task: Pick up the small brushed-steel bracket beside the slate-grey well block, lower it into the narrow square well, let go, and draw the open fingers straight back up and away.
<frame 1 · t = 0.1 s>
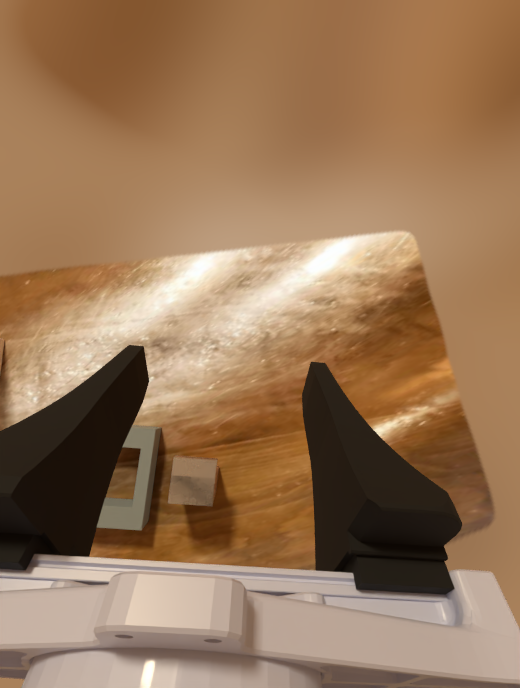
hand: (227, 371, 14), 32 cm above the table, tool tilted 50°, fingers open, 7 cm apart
well block: (117, 470, 42), on the table
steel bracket: (199, 476, 43), on the table
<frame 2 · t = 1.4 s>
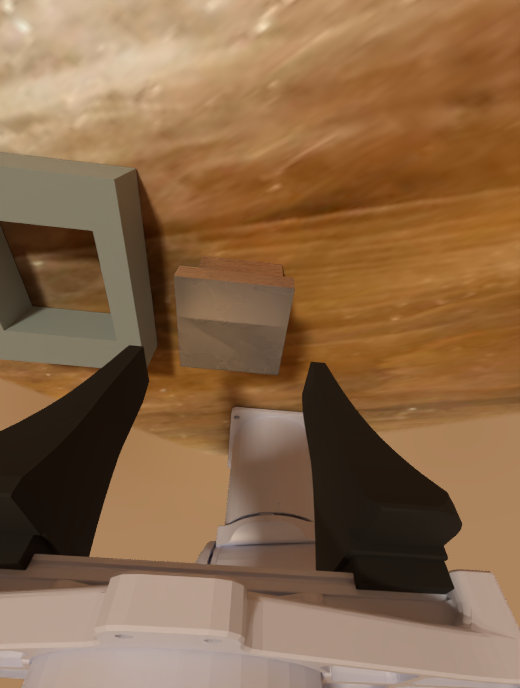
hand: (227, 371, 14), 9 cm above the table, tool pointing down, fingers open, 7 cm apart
well block: (69, 264, 20), on the table
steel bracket: (241, 281, 21), on the table
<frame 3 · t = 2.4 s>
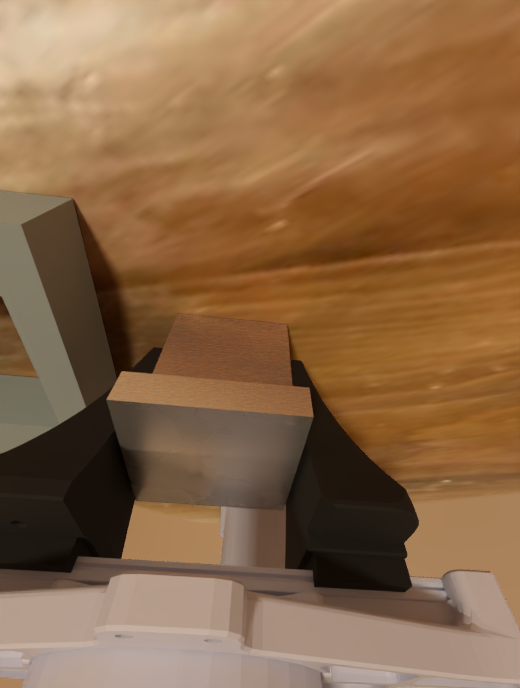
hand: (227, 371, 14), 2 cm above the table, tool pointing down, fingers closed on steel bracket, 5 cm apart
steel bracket: (231, 344, 15), on the table, touching gripper
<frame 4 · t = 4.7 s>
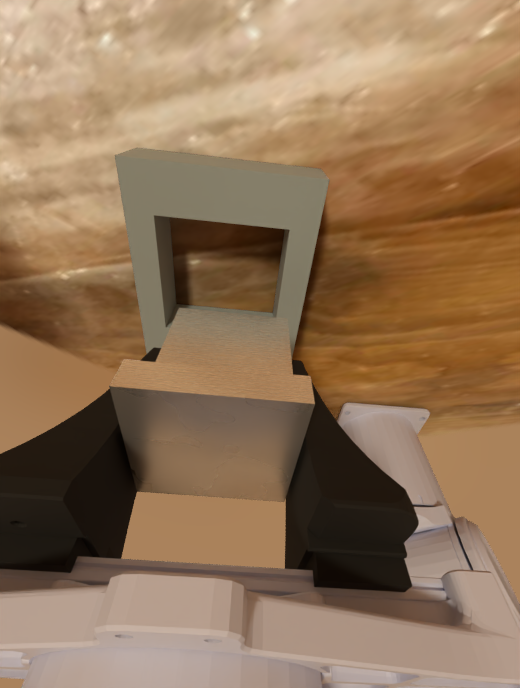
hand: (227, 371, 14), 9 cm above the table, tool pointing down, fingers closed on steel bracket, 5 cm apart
well block: (226, 263, 21), on the table
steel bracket: (232, 339, 15), point 7 cm above the table, touching gripper
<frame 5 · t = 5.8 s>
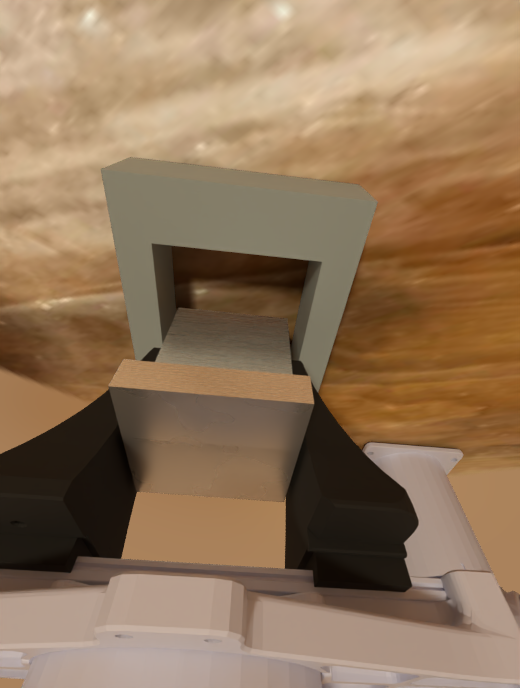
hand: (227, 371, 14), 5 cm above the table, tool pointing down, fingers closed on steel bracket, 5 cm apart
well block: (238, 293, 17), on the table
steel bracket: (231, 339, 15), point 3 cm above the table, touching gripper
when the fingers open (4 cm above the table, at t = 6.7 s): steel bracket drops 2 cm, resting in well block.
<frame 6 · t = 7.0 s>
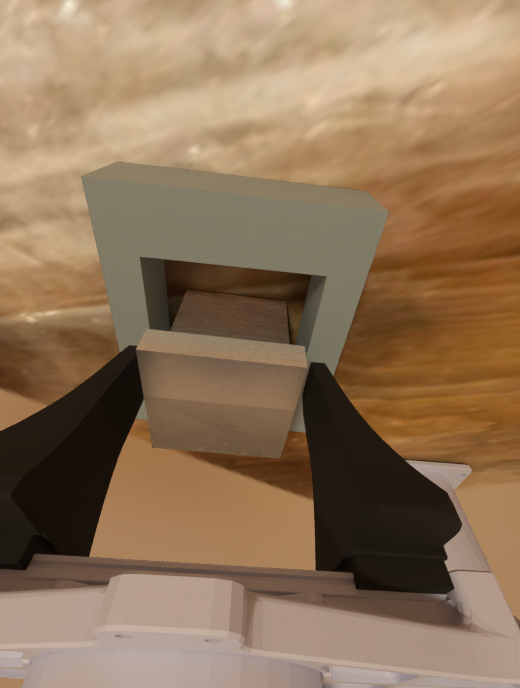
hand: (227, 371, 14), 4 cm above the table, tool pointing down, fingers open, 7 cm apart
well block: (235, 305, 16), on the table
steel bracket: (234, 319, 17), resting in well block
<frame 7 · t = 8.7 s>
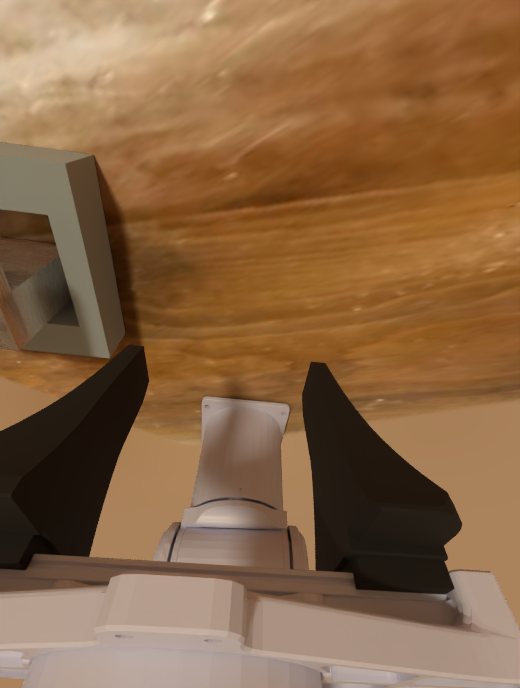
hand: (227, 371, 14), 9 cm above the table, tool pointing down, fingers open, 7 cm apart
well block: (33, 250, 20), on the table
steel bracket: (38, 263, 21), resting in well block
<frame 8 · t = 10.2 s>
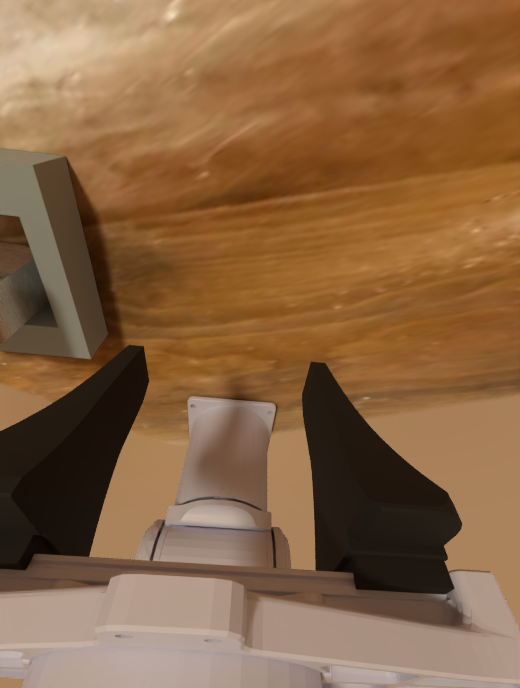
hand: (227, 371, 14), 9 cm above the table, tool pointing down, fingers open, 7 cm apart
well block: (12, 252, 20), on the table
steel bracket: (17, 264, 21), resting in well block
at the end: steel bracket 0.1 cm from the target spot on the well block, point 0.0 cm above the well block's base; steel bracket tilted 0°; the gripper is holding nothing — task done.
